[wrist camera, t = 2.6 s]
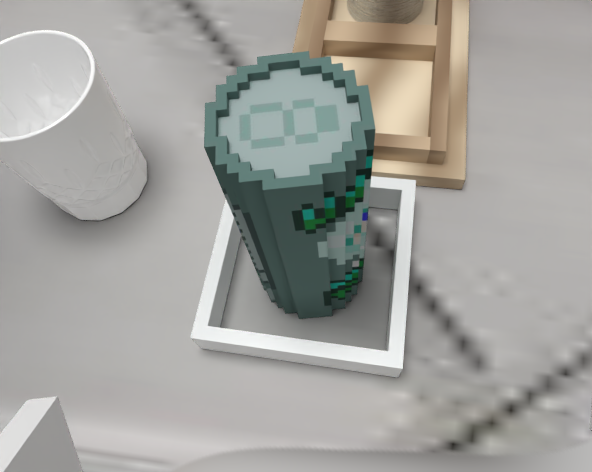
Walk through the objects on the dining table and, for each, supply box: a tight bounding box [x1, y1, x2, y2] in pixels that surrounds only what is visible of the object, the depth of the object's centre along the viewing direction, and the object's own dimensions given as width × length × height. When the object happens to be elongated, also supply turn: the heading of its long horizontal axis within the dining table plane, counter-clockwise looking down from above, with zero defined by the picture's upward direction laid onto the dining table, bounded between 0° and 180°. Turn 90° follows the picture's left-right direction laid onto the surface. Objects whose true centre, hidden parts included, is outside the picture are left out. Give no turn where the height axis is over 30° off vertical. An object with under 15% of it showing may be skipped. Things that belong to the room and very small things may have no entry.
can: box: [204, 51, 376, 319], centre depth 25 cm, size 6×6×15 cm
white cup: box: [0, 30, 147, 220], centre depth 31 cm, size 8×8×10 cm
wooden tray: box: [292, 0, 469, 189], centre depth 37 cm, size 13×22×3 cm, turn 171°
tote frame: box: [190, 176, 416, 378], centre depth 30 cm, size 12×12×2 cm
